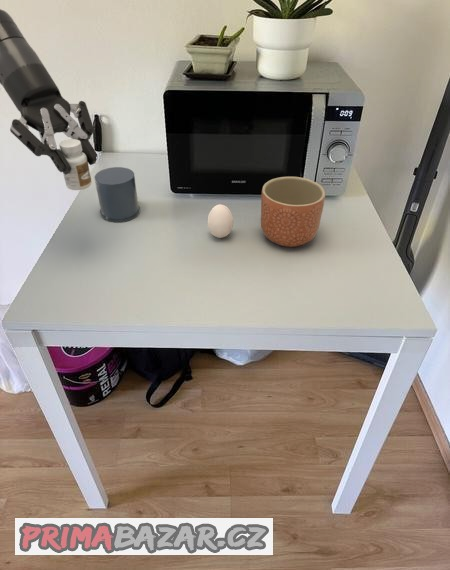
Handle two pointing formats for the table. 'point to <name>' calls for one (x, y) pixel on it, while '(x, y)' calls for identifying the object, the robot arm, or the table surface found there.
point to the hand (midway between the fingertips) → (81, 166)
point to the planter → (291, 210)
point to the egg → (220, 221)
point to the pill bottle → (76, 165)
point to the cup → (117, 194)
